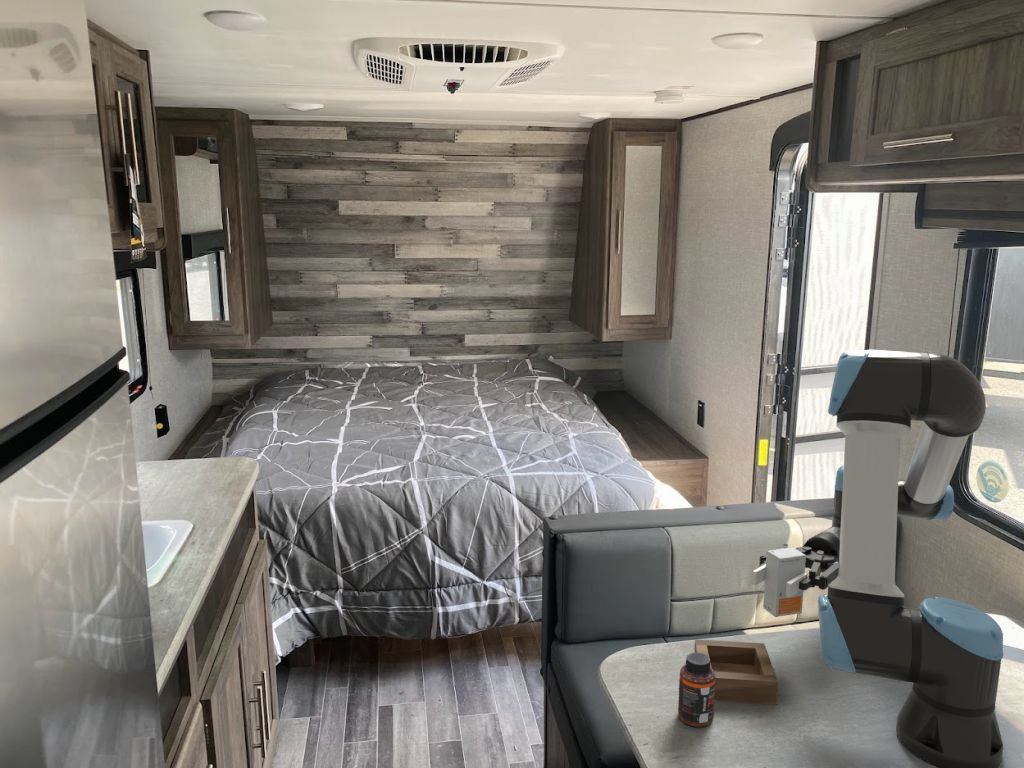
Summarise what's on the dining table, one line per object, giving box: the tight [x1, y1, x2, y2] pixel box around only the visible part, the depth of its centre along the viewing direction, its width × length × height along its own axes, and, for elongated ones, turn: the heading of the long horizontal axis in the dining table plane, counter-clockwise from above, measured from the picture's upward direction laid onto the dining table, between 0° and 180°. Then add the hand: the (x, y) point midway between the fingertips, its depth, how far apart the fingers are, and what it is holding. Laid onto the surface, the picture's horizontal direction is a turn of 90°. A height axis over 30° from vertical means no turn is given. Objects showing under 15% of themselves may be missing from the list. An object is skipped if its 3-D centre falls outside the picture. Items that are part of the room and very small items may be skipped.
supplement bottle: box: [677, 652, 715, 728], centre depth 134 cm, size 6×6×11 cm
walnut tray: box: [693, 638, 779, 706], centre depth 145 cm, size 13×13×4 cm
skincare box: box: [762, 547, 806, 618], centre depth 150 cm, size 6×4×12 cm
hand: (770, 584), depth 146 cm, fingers closed on skincare box, 6 cm apart
